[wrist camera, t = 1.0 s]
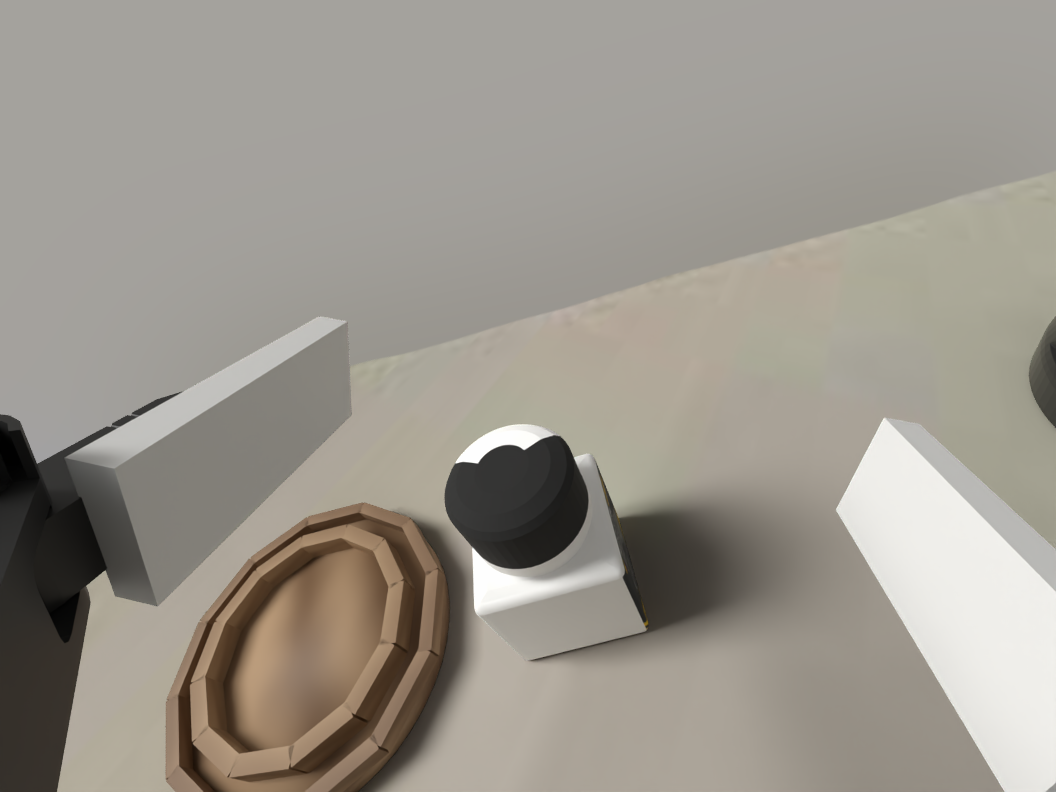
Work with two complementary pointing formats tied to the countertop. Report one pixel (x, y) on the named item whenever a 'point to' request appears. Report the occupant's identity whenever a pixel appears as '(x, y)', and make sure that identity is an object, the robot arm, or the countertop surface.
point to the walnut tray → (311, 659)
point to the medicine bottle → (543, 543)
